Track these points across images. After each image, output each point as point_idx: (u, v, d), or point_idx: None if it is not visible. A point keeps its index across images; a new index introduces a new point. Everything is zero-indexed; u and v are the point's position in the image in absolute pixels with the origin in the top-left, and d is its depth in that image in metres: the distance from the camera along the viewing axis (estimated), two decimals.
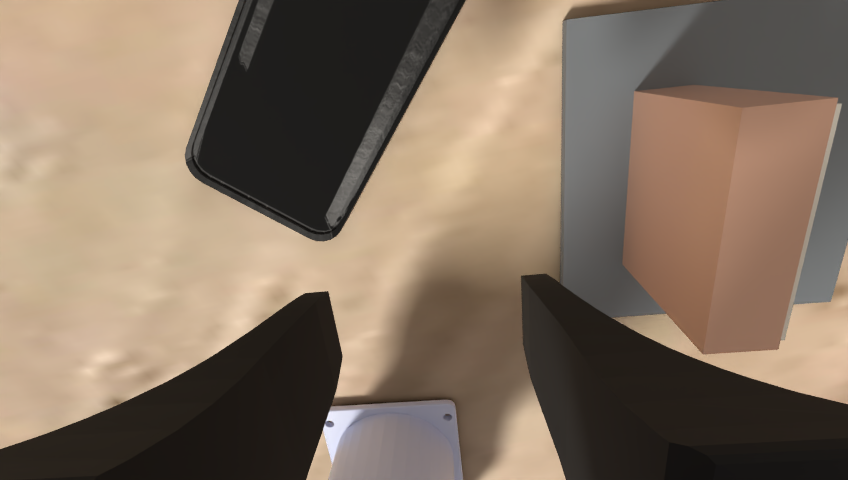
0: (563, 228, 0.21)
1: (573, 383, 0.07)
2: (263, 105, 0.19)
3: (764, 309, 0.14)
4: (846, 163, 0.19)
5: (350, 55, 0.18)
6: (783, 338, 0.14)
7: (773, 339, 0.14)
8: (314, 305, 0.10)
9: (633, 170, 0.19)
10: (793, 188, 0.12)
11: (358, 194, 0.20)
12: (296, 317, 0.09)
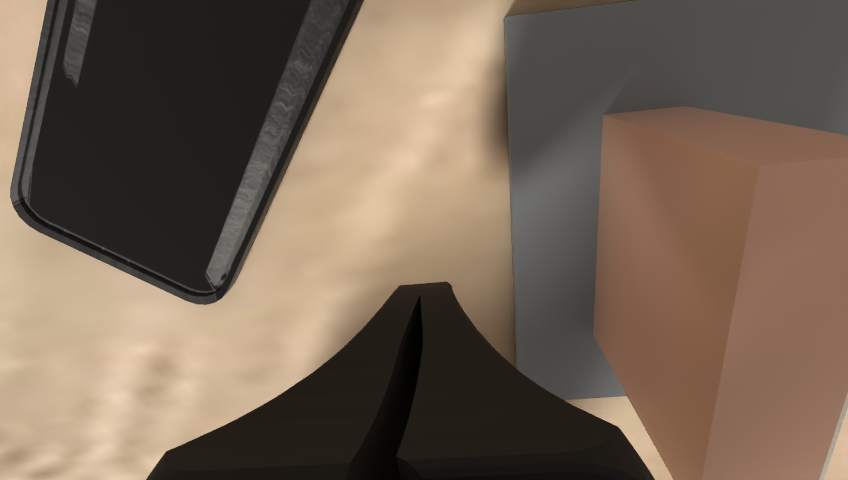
0: (515, 290, 0.16)
1: None
2: (105, 132, 0.14)
3: (788, 461, 0.09)
4: None
5: (214, 65, 0.13)
6: None
7: None
8: (419, 297, 0.10)
9: (603, 220, 0.14)
10: (841, 292, 0.07)
11: (244, 247, 0.15)
12: (410, 308, 0.09)
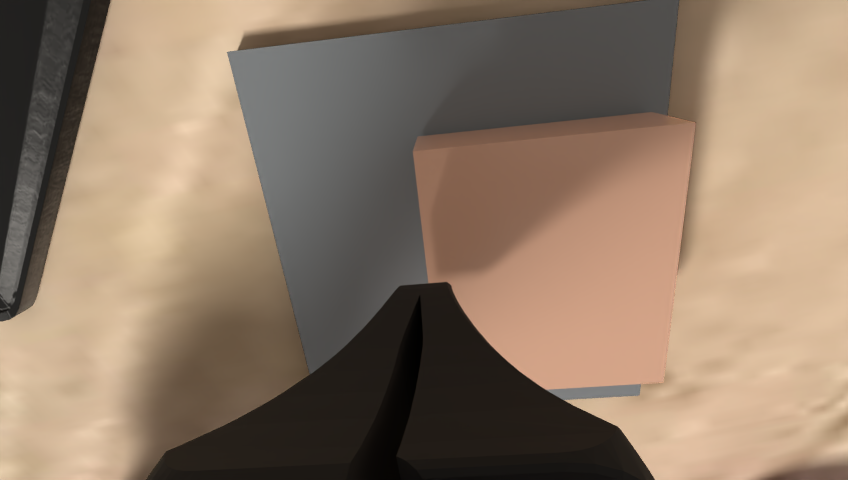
0: (294, 307, 0.16)
1: None
2: None
3: None
4: None
5: None
6: None
7: None
8: (419, 297, 0.10)
9: (443, 263, 0.12)
10: None
11: (25, 266, 0.16)
12: (410, 308, 0.09)
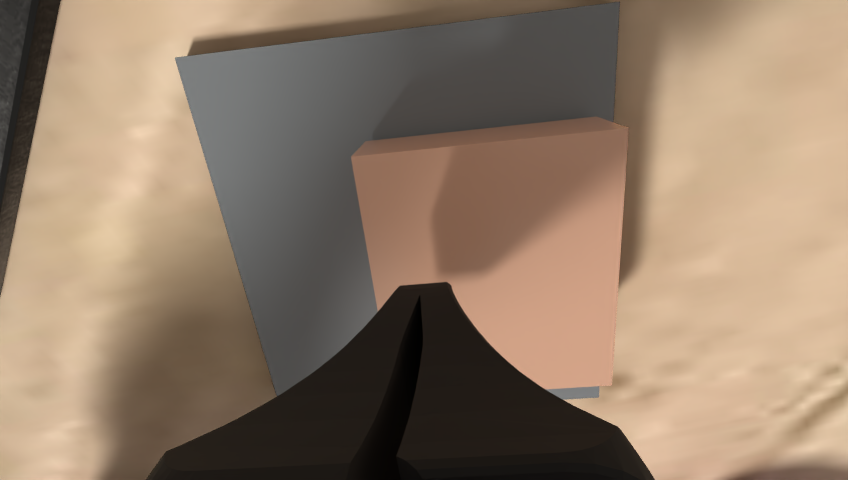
0: (252, 310, 0.16)
1: None
2: None
3: None
4: None
5: None
6: None
7: None
8: (419, 297, 0.10)
9: (387, 267, 0.12)
10: None
11: None
12: (410, 308, 0.09)
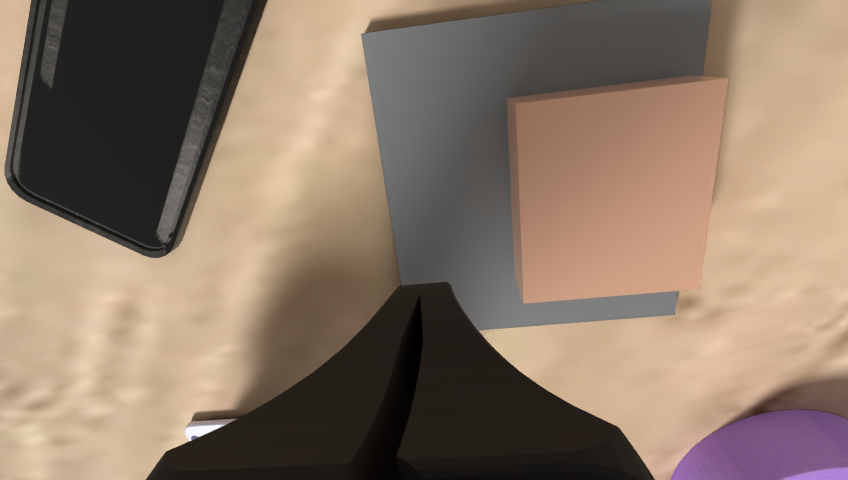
0: (395, 243, 0.20)
1: None
2: (74, 123, 0.19)
3: None
4: None
5: (151, 71, 0.18)
6: None
7: None
8: (419, 297, 0.10)
9: (532, 192, 0.16)
10: None
11: (183, 210, 0.20)
12: (410, 308, 0.09)
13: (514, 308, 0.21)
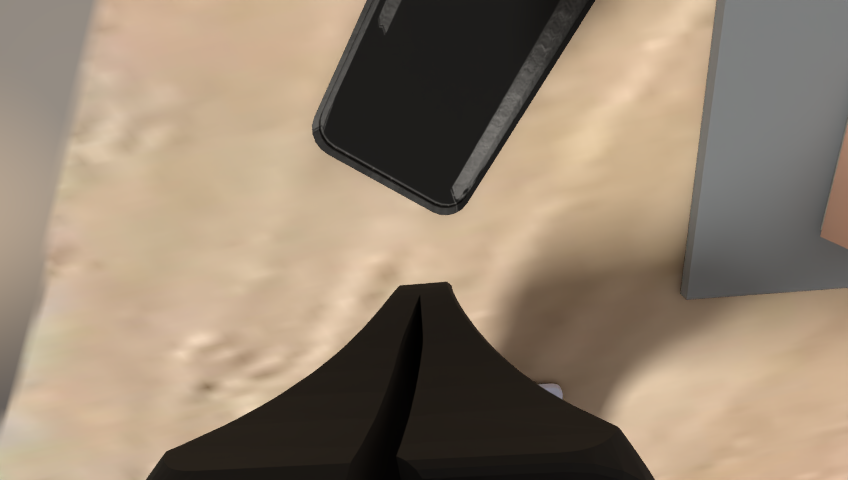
0: (698, 201, 0.20)
1: None
2: (398, 71, 0.18)
3: None
4: None
5: (495, 16, 0.17)
6: None
7: None
8: (419, 297, 0.10)
9: None
10: None
11: (489, 164, 0.19)
12: (410, 308, 0.09)
13: (804, 271, 0.21)
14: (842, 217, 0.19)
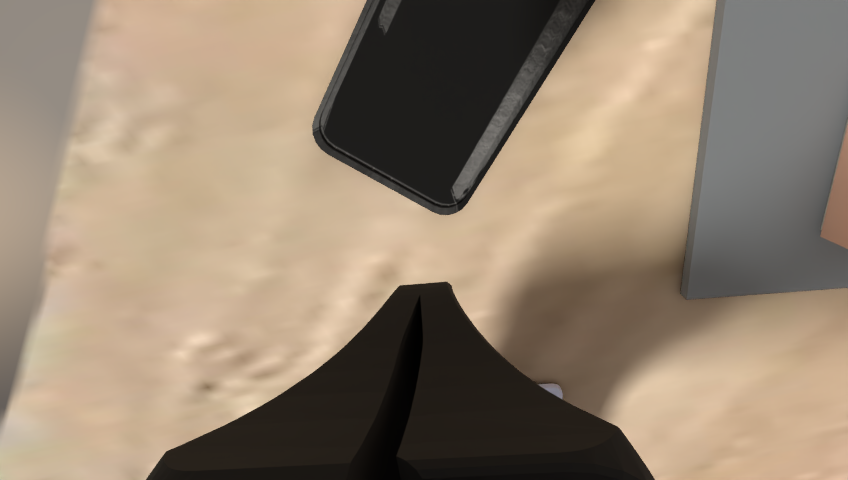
0: (698, 201, 0.20)
1: None
2: (398, 71, 0.18)
3: None
4: None
5: (495, 16, 0.17)
6: None
7: None
8: (419, 297, 0.10)
9: None
10: None
11: (489, 164, 0.19)
12: (410, 308, 0.09)
13: (804, 271, 0.21)
14: (842, 217, 0.19)
